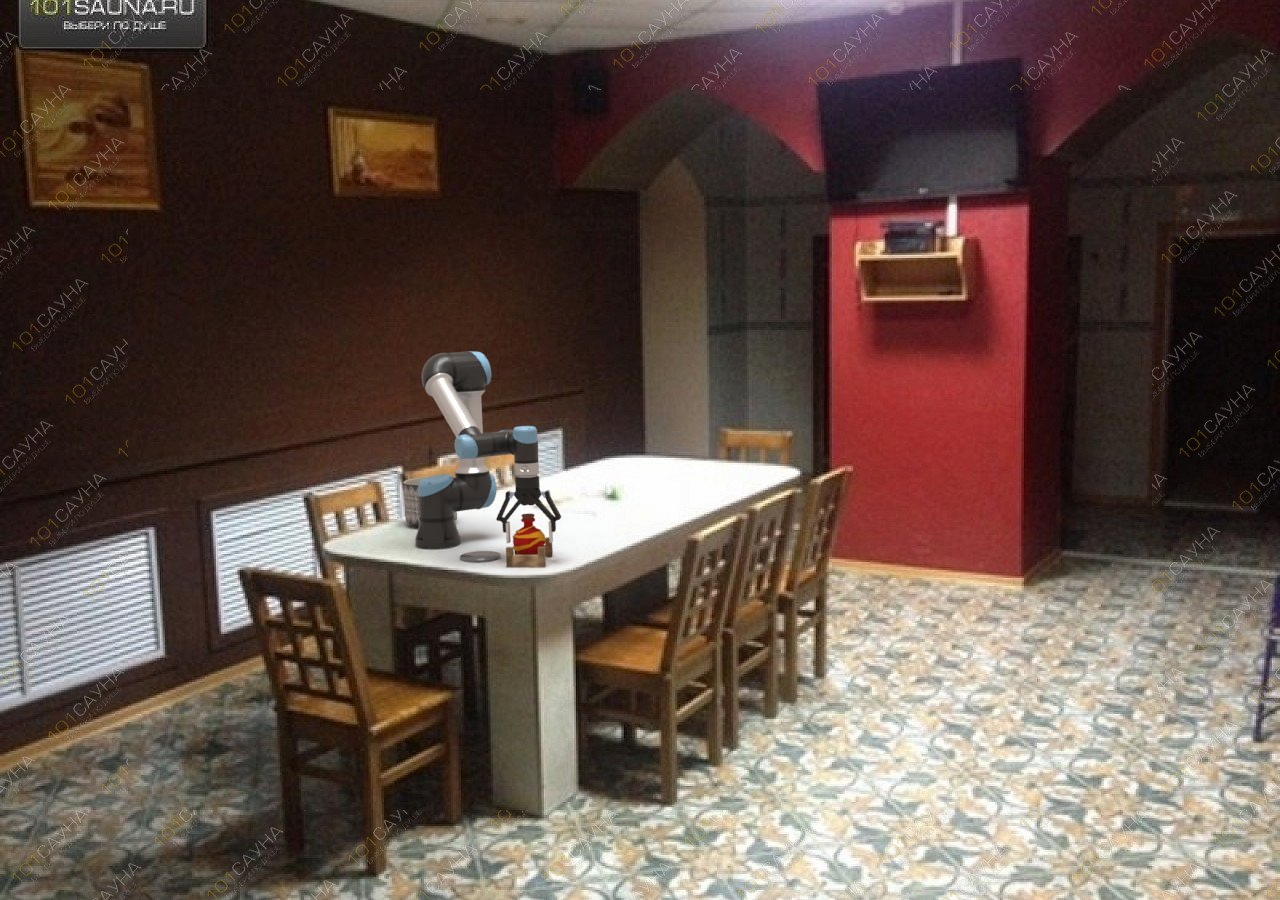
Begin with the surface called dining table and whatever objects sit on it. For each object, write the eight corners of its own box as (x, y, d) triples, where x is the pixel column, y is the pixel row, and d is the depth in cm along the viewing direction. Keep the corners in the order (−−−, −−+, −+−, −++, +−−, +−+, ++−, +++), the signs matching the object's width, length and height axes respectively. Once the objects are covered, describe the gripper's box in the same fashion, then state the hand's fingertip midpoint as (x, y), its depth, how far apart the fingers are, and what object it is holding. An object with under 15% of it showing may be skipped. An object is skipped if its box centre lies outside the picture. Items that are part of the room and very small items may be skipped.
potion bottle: (529, 566, 362) (527, 519, 360) (506, 562, 369) (504, 515, 367) (553, 560, 370) (551, 513, 368) (531, 556, 376) (529, 510, 374)
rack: (506, 567, 362) (505, 548, 361) (515, 555, 378) (515, 537, 377) (544, 567, 361) (544, 548, 360) (552, 555, 377) (552, 537, 376)
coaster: (455, 562, 370) (455, 560, 370) (465, 553, 382) (465, 550, 382) (496, 562, 369) (496, 559, 368) (504, 553, 381) (504, 550, 381)
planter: (458, 528, 423) (456, 483, 421) (404, 531, 420) (402, 486, 418) (457, 518, 442) (456, 475, 440) (406, 521, 439) (404, 477, 437)
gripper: (485, 478, 363) (488, 545, 365) (564, 476, 361) (567, 544, 363) (490, 474, 370) (493, 540, 373) (568, 473, 368) (570, 539, 371)
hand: (529, 542), depth 368 cm, fingers open, 13 cm apart
